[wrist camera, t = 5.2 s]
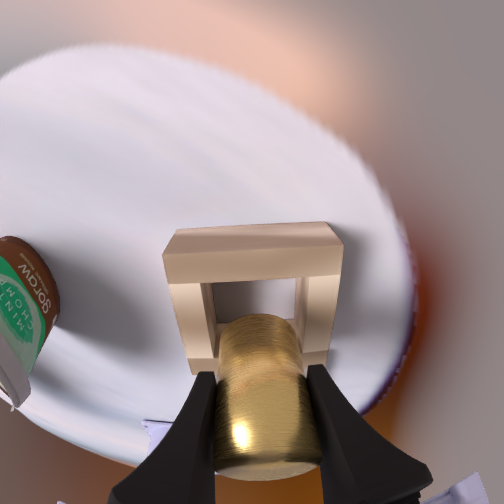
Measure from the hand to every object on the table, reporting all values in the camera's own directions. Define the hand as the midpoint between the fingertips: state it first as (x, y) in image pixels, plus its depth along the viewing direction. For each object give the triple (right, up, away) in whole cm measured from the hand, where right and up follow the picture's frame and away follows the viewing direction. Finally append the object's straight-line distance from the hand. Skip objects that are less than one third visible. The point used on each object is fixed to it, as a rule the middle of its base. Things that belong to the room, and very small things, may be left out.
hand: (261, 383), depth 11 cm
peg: (0, +1, +3) cm, 3 cm away
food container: (-18, +4, +6) cm, 20 cm away
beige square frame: (0, +3, +7) cm, 8 cm away
